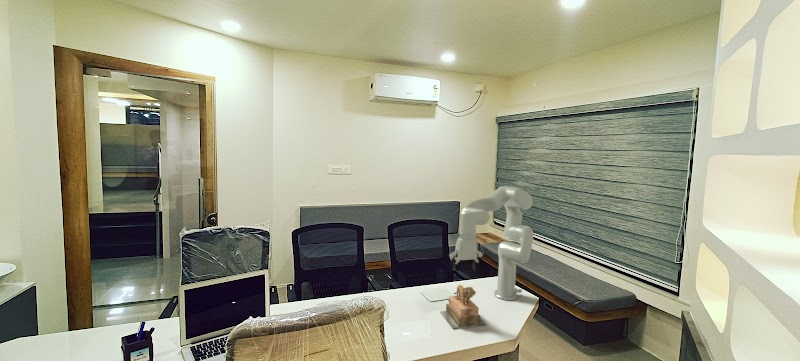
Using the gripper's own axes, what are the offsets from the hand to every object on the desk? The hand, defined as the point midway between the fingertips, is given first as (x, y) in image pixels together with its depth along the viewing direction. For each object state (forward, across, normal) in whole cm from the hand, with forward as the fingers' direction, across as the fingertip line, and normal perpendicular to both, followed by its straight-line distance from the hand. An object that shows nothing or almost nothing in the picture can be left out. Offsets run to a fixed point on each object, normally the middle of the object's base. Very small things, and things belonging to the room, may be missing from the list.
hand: (465, 270), depth 158 cm
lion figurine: (+16, 0, 0) cm, 16 cm away
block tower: (+24, 0, 0) cm, 24 cm away
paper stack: (+25, +6, -22) cm, 34 cm away
